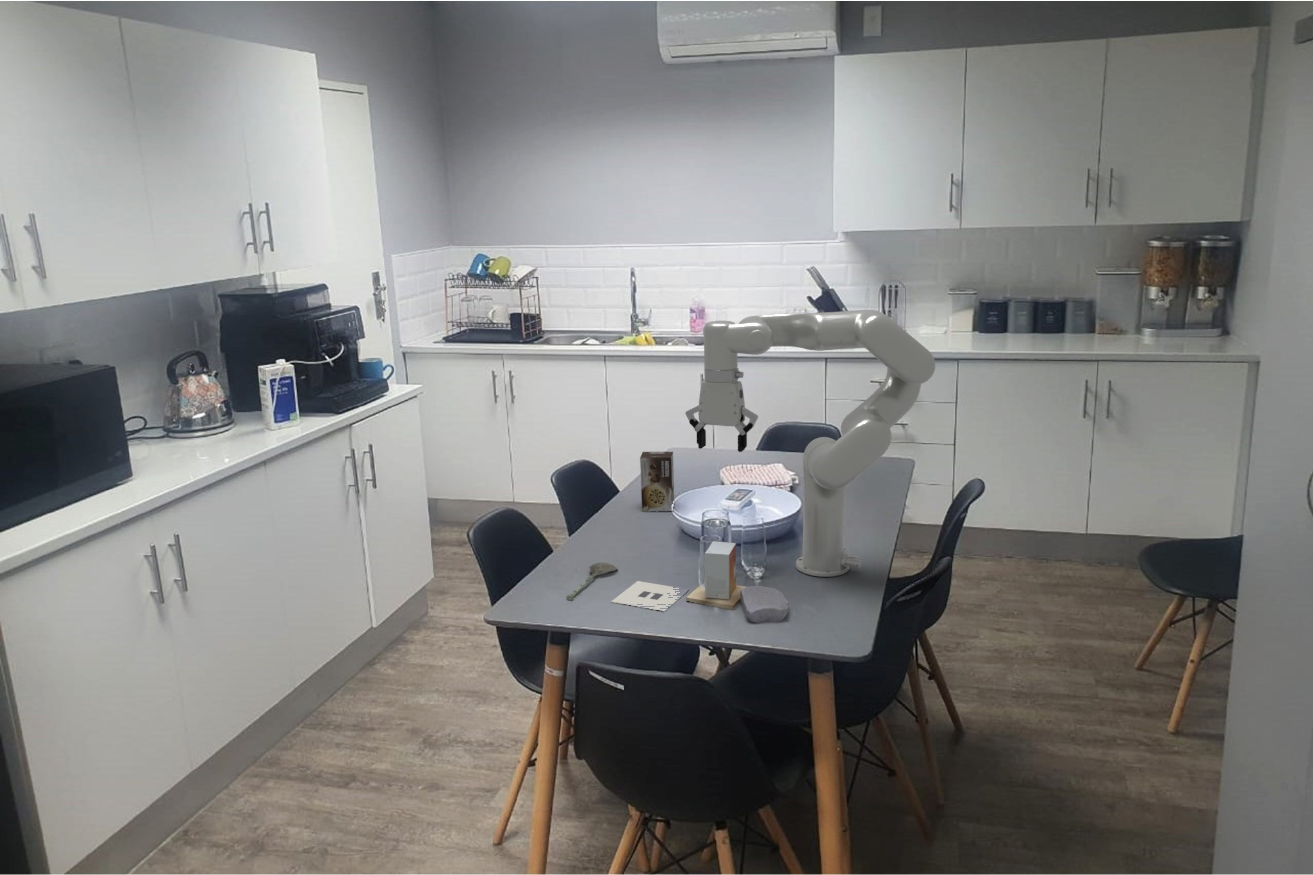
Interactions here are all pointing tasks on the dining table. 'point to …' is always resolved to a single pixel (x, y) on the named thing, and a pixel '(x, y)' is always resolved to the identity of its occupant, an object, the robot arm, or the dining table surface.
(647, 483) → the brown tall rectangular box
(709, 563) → the small box
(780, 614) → the stone block
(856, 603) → the dining table surface
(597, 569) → the soupspoon
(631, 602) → the cream tile
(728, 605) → the wooden board
